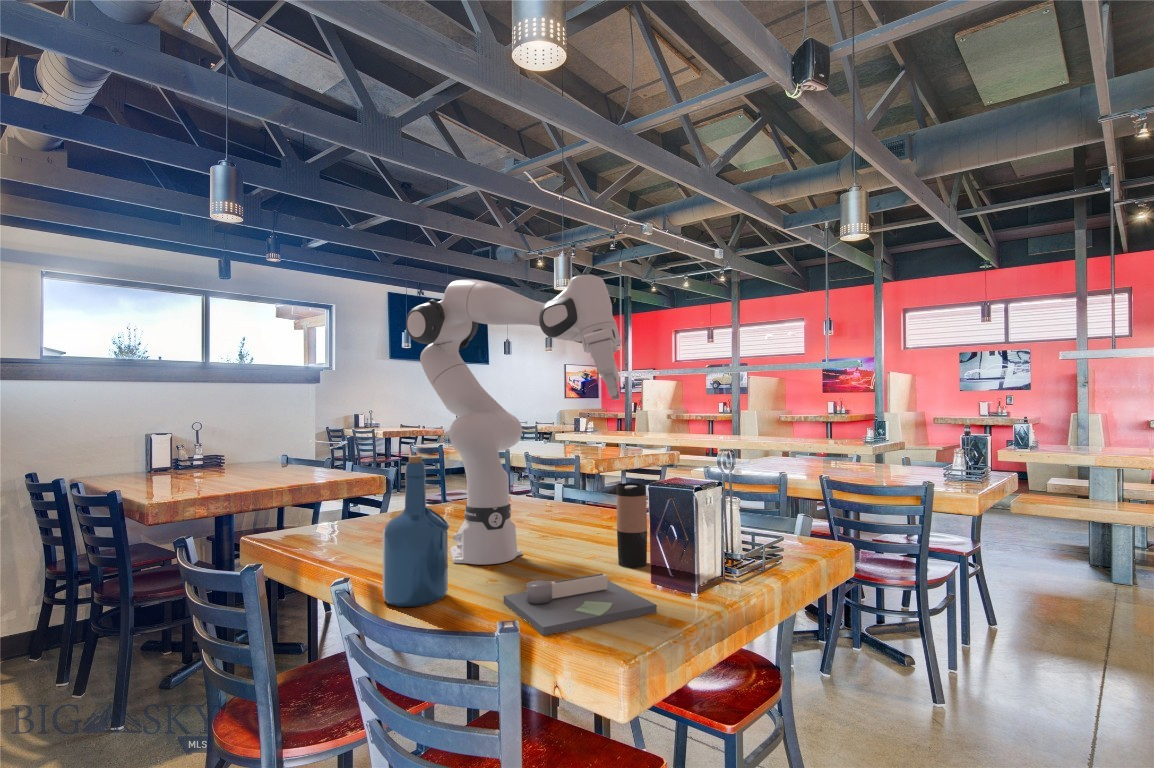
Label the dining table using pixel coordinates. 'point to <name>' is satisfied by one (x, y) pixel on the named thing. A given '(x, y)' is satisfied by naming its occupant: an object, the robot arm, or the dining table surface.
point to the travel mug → (632, 525)
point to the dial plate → (580, 609)
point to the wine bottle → (415, 547)
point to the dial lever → (564, 587)
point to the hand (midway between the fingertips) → (615, 397)
